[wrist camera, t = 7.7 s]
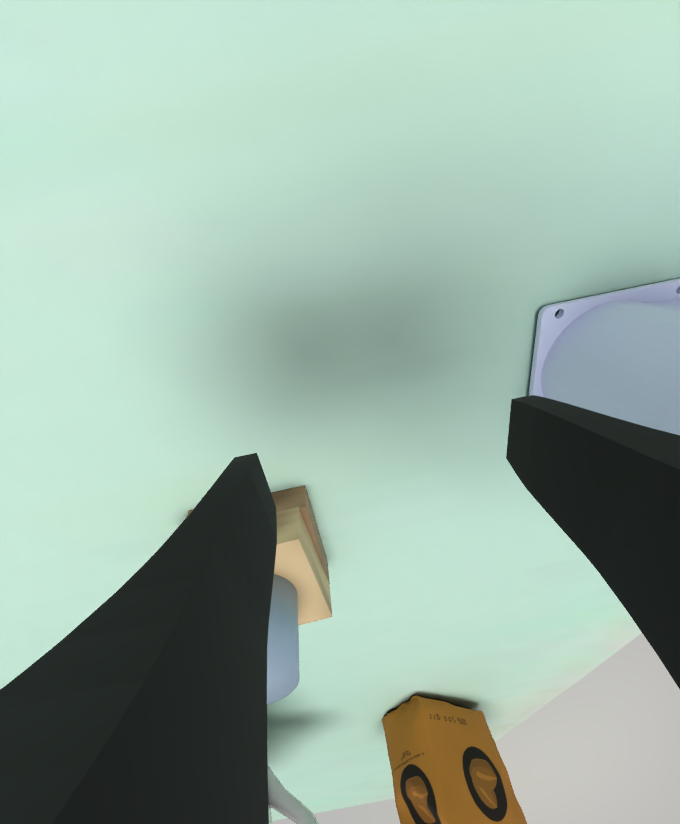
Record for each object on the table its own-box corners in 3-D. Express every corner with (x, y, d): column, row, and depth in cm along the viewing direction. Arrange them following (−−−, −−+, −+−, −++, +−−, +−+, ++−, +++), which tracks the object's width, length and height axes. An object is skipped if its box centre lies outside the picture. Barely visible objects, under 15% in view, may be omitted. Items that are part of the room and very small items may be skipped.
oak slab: (298, 506, 21) (298, 539, 19) (329, 582, 25) (332, 616, 23) (175, 538, 21) (161, 573, 19) (225, 609, 25) (218, 645, 23)
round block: (289, 565, 20) (289, 647, 16) (303, 614, 22) (306, 696, 18) (204, 581, 20) (182, 669, 16) (227, 629, 22) (213, 715, 18)
